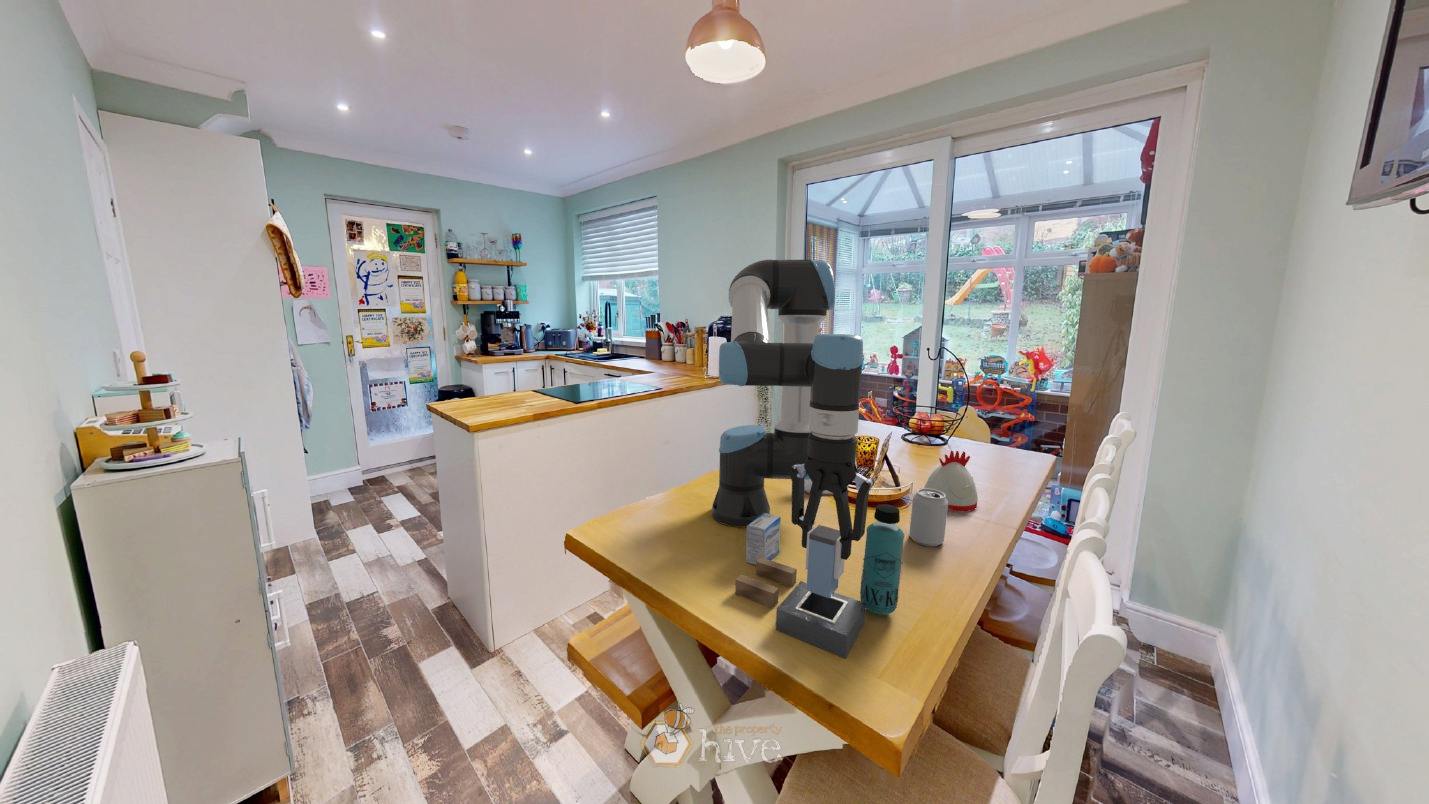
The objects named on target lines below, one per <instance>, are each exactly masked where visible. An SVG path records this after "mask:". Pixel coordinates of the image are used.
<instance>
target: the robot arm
mask: <svg viewBox="0 0 1429 804" xmlns="http://www.w3.org/2000/svg"><path fill="white" fill-rule="evenodd" d="M835 298H836V285H835V278H834V272H833V269H832V267H831V265H830V264H829V262H828V261H825V260H817V259H811V258H810V259H763V260H759V261H756V262H753V263H750V264H748V265H747V266H745V267H744V268H743V269H741V270H740V271H739V272H738V273H737V274H736V275H735V276H734V277H733V279H732V280H731V283H730V284H729V288H728V302H729V305H730V307H731V308H732V309H731V310H732V311H731V312H732V313H731V332H730V333H731V335H730V341H726V342H723V343H721V344H720V345H719V353H718V378H719V379H718V380H719V381H720V382H721V384H723V385H730V386H731V385H732V386H738V387H744V386H745V387H746V386H749V387H750V386H751V387H753V386H757V387H758V386H759V387H760V386H761V387H762V386H765V387H768V386H771V387H773V386H774V387H776V386H778V387H781V403H780V405H781V406H780V407H781V408H780V420H778V422H776V424H774V431H773V432H767V428H765V426H763V425H755V424H749V425H740V426H734V427H731V428H729V429H726V430H725V431H723V433H721V435H720V438H719V439H720V441H719V448H718V452H719V469H718V471H719V475H718V479H719V481H718V482H719V483H718V489H717V492H716V494H715V496H714V499H713V503H712V506H711V516H712V518H713V519H714V520H715V521H716V522H718V523H720V524H722V525H725V526H729V527H733V528H747V525H749V524H750V523H751V522H753V521H754V520H755V519H757V518H758V517H759V516H760V515H762V514H763V513H767V514H771V506H770V504H769V500H768V497H767V494H766V490H765V479H769V480H770V479H772V480H773V479H775V480H790V481H791V524H793V525H794V526H798V527H800V529H801V531H802V532H801V547H802V548H803V549H804V548H805V549H806V550H805V551H806V552H805V570H807V571H808V556H809V541H810V539H809V535H810V533H811V532H812V531H813V530H814V529H815V528H816V527H817V526H816V527H815V526H814V525H815V524H816V518H817V515H818V509H819V506H820V502H821V499H822V496H823V495H822V493H823V491H825V490H827V491H829V492H831V493H833V494H832V497H833V500H834V501H835V502H834V503H835V508H836V514H837V522H838V529H839V530H840V537H839V538H838V539H837V540H836V546H835V562H834V578H835V579H840V578H841V576H842V575H843V574H844V572H845V570H844V569H845V561H847V560H848V559H849V557H851V555H852V541H855V542H858V541H860V540H861V539H862V537H863V536H864V535H865V532H866V531H865V530H866V521H867V516H868V515H867V513H868V504H869V498H870V497H869V495H870V491H871V489H872V488H873V486H874V484H875V480H874V478H873V477H868V478H867V477H865V476H863V475H862V474H860V473H859V470H858V468H857V466H856V460H857V446H858V438H857V436H855V435H856V434H857V433H858V432H859V420H860V419H859V415H860V401H861V399H860V398H861V389H862V387H861V386H862V375H863V374H862V372H863V363H864V361H865V358H864V341H863V338H862V337H861V336H859V335H857V334H842V333H841V334H840V333H820V325H821V323H822V322H823V321H824V320H826V318H827V316H828V315H827V313H828V311H831V310H833V308H834V306H835ZM768 309H770V310H777V311H778V315H777V317H778V319H780V321H781V322H782V323H783V342H771V332H770V324H769V323H770V322H769V310H768ZM808 479H811V481H812V486H811V490H810V494H809V497H808V501H807V505H806V508H805V491H804V486H805V480H808ZM853 482H855V489H856V490H857V493H856V499H855V507H854V516H853V524H852V516H851V509H850V504H849V489H848V487H849V485H851V484H852V483H853ZM852 525H853V526H852Z"/></svg>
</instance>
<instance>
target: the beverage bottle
mask: <svg viewBox="0 0 1429 804" xmlns="http://www.w3.org/2000/svg"><path fill="white" fill-rule="evenodd" d="M874 511H875V512H874V513H873V514H874V515H873V518H874V520H875V521H874V522H872V523H871V524H869V525H868V526H867V527H866V529H865V530H866V531H865V532H866V535H865V536H866V538H865V547H864V556H863V558H862V560H863V563H862V565H861V566H862V569H861V578H860V579H861V580H860V589H859V591H860V592H859V594H860V597H859V599H860V601H861V602H864V603H866V610H867V611H870V612H871V613H874V614H878V615H889V614H892V613H894V612H895V611H896V609H897V608H898V602H899V596H900V593H899V591H900V582H901V577H902V575H901V574H902V564H903V561H902V560H903V550H904V539H905V533H904V531H903V530H902V529H901V528H900V527H899V526H898V525H897V524H898V523H900V520H901V518H900V509H899V508H898V507H897V506H895V505H891V504H886V503H884V504H883V503H882V504H877V505H876V506H875V510H874Z"/></svg>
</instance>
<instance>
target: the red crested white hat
mask: <svg viewBox="0 0 1429 804" xmlns="http://www.w3.org/2000/svg"><path fill="white" fill-rule="evenodd" d="M938 459H939V463H940V465H938V466H937V467H936V468H934V469H933V471H932V472H931V473H930V475H929V476H928V478H927V481H926V483H925V484H924V488H929V489H935V490H938V491H941V492H943V493H944V494H945V495H946V497H945V498H946V499H947V500H948V510H947V511H949V512H950V511H951V512H959V511H964V512H971V511H974V510H975V508H976V509H977V507H978V502H979V501H978V492H977V488H976V483H975V481H974V477H973V476H972V474H971V472H970V471H969V470H968V469H967V468H966V465H967V464H968V462H969V460H970V459H971V456H970V455H967V456H966V452H965V451H962V453H961V455H960V451H958V450H956V451H955V453H954V451H953V450H950V453H949V455H947V454H946V453H945V454H944V459H945V460H944V461H943V459H942V458H941V457H940V458H938Z"/></svg>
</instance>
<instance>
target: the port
mask: <svg viewBox="0 0 1429 804" xmlns="http://www.w3.org/2000/svg"><path fill="white" fill-rule="evenodd" d="M806 586H807V582H805V581H803V580H800V581H799V582H798V583H797V585H796V586H795V587H794V588H793V589H792V591H790V593H789V594H788V595H787V596H786V597H785V598H784V599H783V601H782V602H781V603H780V604H779V605H778V606H777V607H776V614H775V615H776V618H775V619H776V620H775V631H778V632H780V633H783V634H785V635H787V636H790V637H792V638H795V639H797V640H800V641H802V642H804V643H806V644H808V645H811V646H814V647H816V648H819V649H821V650H823V651H826V652H827V653H831V654H833V655H836V656H838V657H839V658H843V659H846V658H847V656H848V655H849V653H850V652H851V649H852V647H853V646H854V644H855V642H856V640H857V638H858V637H859V635H860V633H861V631H862V630H863V628H864V627H865V622H866V621H865V620H866V612H867V611H866V610H867V609H866V603H864V602H861V600H857V599H854V598H852V597H849V596H846V595H843V594H840V593H837V592H834V593H833V595H832V596H831V597H830V599H829V598H827V597H824V596H821V595H818V594H815V593H813V592H810V591H807V590H806Z"/></svg>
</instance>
